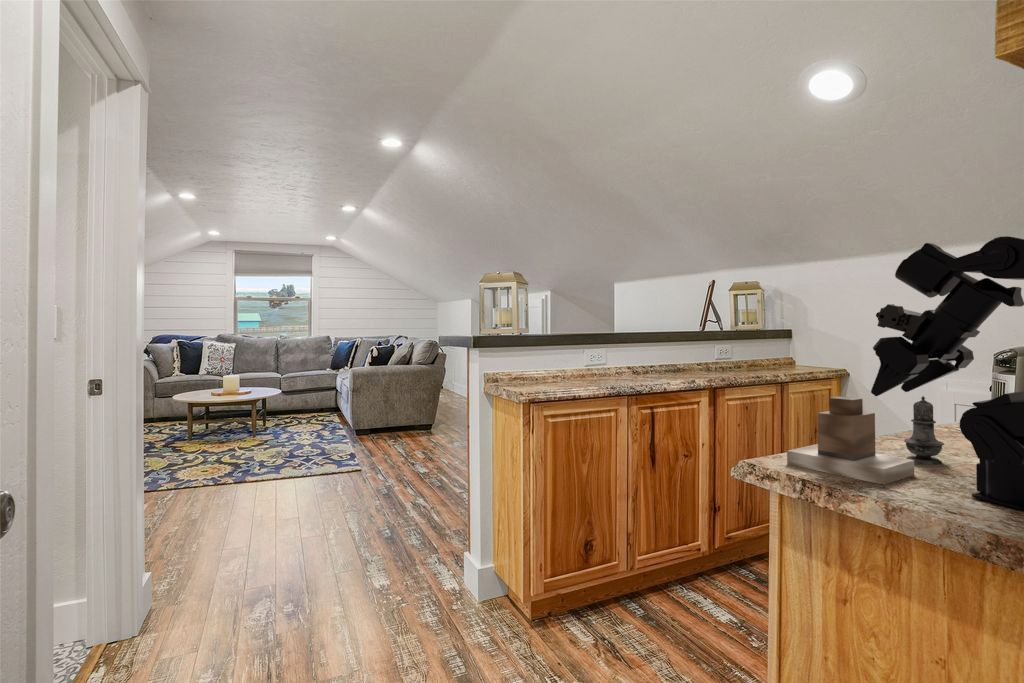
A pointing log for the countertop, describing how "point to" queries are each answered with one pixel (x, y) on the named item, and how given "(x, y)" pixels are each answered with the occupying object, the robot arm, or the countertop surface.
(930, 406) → the salt shaker
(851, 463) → the board
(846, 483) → the countertop surface
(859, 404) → the brown square jar
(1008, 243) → the robot arm
